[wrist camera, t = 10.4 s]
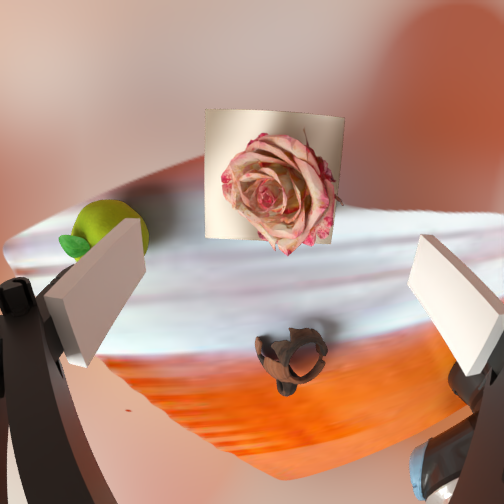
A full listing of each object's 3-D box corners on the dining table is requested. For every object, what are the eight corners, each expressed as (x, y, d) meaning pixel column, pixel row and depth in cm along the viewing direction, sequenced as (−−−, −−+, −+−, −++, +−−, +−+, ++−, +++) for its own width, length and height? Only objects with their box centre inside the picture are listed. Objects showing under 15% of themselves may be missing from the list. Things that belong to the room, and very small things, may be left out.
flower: (339, 113, 22) (288, 112, 17) (372, 220, 24) (333, 257, 19) (253, 147, 29) (191, 159, 24) (282, 235, 31) (228, 267, 26)
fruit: (135, 269, 41) (106, 311, 32) (85, 226, 38) (45, 259, 29) (173, 222, 37) (146, 258, 28) (117, 175, 35) (75, 197, 26)
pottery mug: (248, 319, 44) (276, 341, 37) (303, 307, 48) (337, 324, 40) (252, 387, 46) (276, 415, 39) (302, 371, 50) (331, 394, 43)
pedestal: (326, 116, 31) (344, 117, 24) (317, 216, 37) (330, 244, 29) (218, 110, 32) (205, 109, 24) (216, 211, 37) (205, 237, 29)
